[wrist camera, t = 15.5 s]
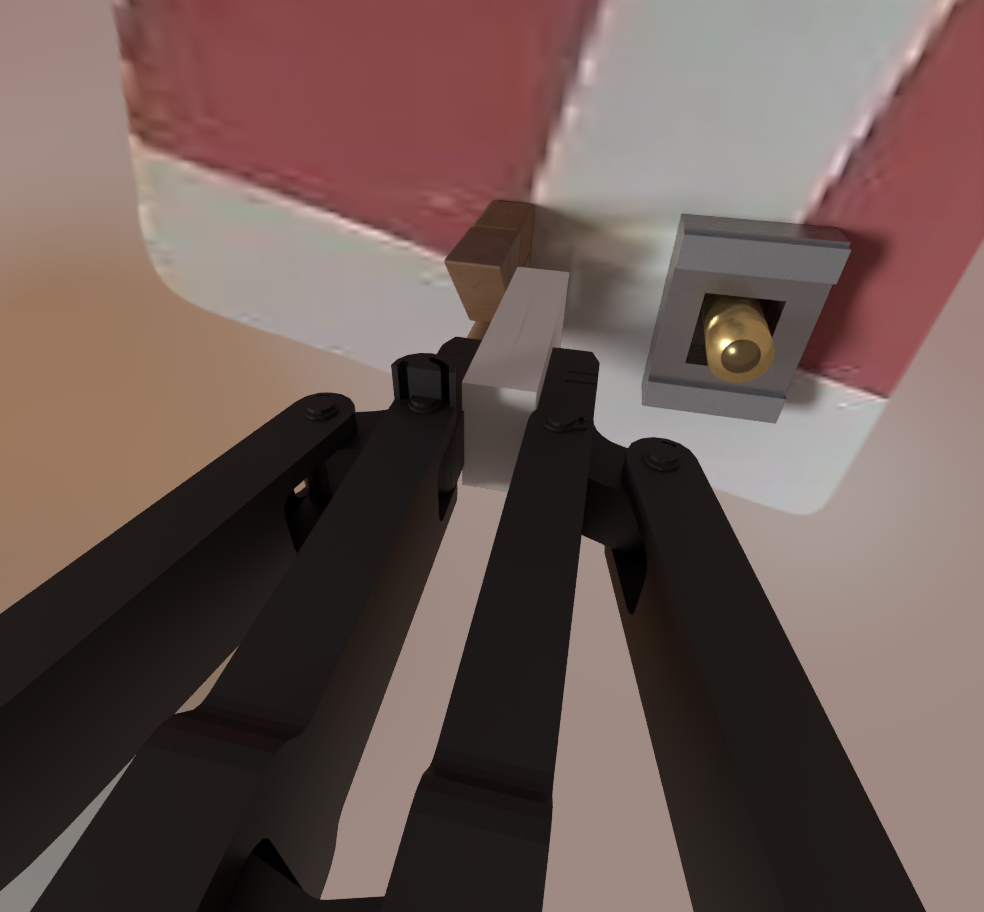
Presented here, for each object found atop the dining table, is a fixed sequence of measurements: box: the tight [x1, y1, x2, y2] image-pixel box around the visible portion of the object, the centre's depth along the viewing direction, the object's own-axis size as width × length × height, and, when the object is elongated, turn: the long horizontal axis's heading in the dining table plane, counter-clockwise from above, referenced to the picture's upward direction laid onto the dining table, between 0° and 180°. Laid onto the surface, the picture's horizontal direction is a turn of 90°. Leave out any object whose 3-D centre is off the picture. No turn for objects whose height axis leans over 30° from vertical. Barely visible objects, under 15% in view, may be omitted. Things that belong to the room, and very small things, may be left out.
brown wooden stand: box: [444, 200, 535, 340], centre depth 40 cm, size 4×11×18 cm, turn 178°
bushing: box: [702, 293, 775, 383], centre depth 42 cm, size 4×4×8 cm
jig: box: [642, 214, 851, 423], centre depth 44 cm, size 15×11×4 cm
